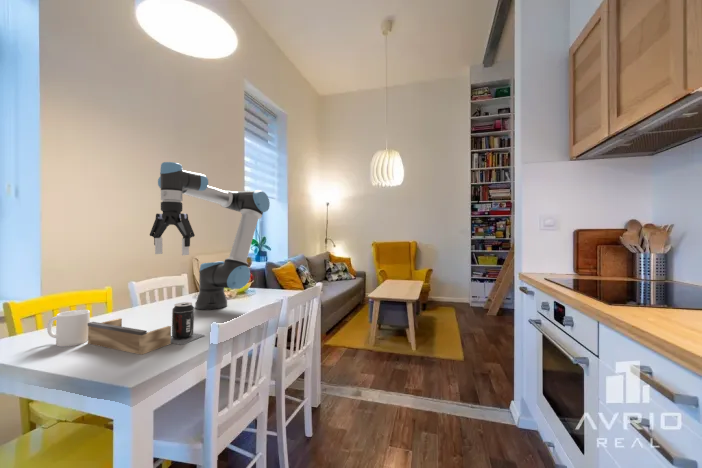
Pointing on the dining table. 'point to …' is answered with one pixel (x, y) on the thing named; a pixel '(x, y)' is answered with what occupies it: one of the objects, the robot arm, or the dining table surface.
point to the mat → (183, 341)
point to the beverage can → (182, 320)
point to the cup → (70, 327)
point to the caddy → (127, 337)
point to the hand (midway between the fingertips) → (171, 254)
